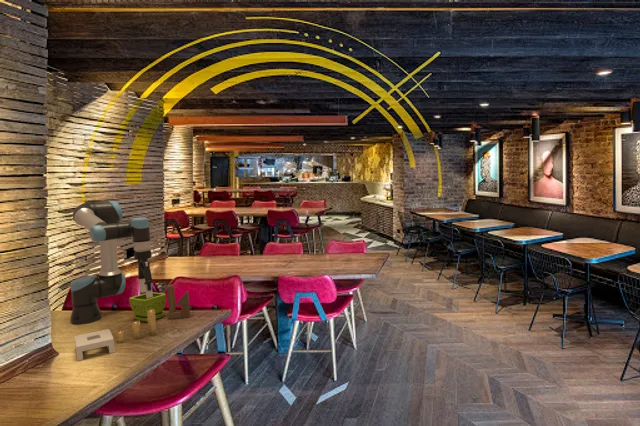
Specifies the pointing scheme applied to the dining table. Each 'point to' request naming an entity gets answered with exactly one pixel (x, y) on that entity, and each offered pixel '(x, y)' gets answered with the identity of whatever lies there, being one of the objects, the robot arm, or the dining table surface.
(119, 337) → the pin short
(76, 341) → the white block with hole
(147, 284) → the robot arm
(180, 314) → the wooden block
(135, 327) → the pin medium
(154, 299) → the flower pot
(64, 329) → the dining table surface
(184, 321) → the dining table surface
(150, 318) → the pin long
